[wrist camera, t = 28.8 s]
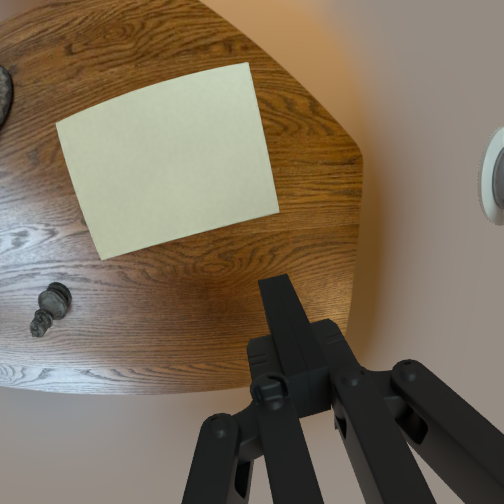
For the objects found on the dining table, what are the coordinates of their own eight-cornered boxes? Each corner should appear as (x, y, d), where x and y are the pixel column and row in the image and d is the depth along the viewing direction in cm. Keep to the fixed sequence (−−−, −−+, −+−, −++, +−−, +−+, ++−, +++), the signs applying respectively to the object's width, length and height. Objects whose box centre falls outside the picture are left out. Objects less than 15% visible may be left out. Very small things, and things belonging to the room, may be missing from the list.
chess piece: (78, 294, 47) (53, 337, 36) (66, 314, 48) (42, 357, 37) (52, 274, 45) (22, 313, 34) (41, 295, 46) (13, 335, 35)
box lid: (103, 257, 30) (101, 260, 29) (58, 122, 24) (55, 123, 23) (277, 210, 31) (279, 212, 30) (247, 63, 25) (248, 61, 24)
